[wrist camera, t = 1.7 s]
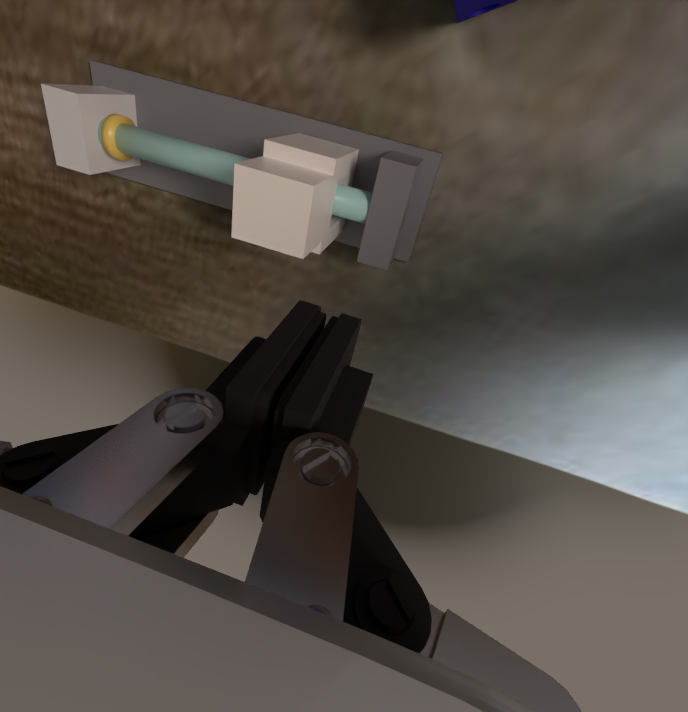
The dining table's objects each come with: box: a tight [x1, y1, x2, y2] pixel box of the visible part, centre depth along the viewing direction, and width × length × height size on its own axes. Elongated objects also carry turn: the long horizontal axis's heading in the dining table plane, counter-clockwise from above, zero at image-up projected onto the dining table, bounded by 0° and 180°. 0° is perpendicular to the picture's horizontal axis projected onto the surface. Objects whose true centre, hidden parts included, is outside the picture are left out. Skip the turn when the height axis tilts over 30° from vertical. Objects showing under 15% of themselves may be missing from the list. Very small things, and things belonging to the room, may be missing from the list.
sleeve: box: [231, 133, 359, 259], centre depth 23 cm, size 4×5×8 cm
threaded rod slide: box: [41, 60, 443, 271], centre depth 25 cm, size 24×7×5 cm, turn 78°
